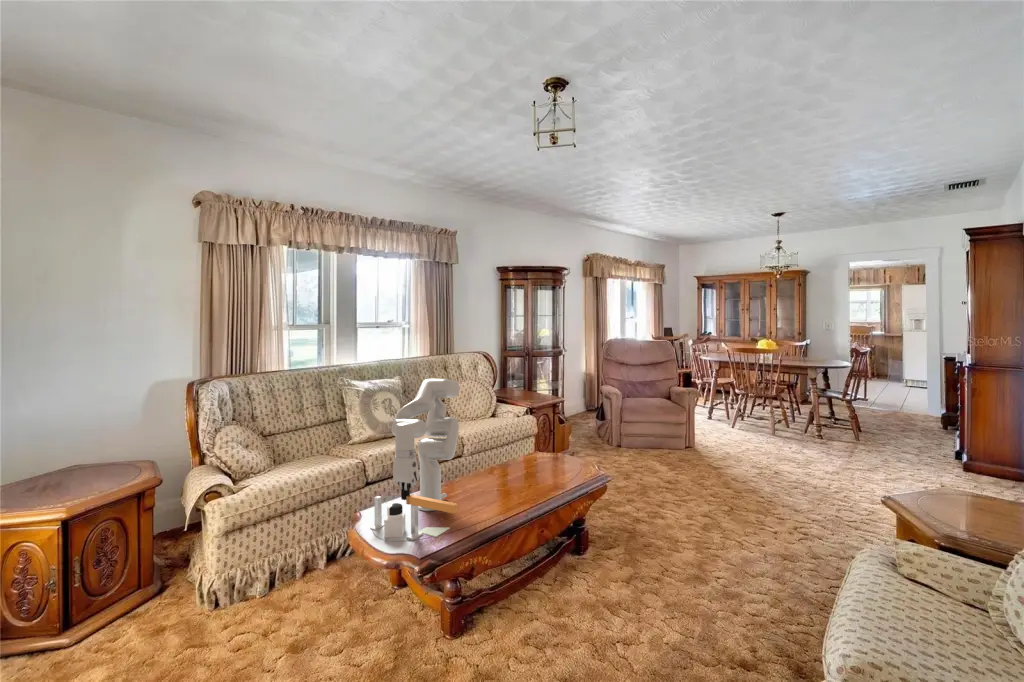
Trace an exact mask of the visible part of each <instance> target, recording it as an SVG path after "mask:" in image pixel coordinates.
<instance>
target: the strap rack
mask: <svg viewBox="0 0 1024 682" xmlns="http://www.w3.org/2000/svg"><path fill="white" fill-rule="evenodd" d="M373 500H374V507H373V508H374V525H373V526H371V527H369V529H370V530H373V531H378V530H379V529H381V528H384V522H382V518H383V517H382V513H383V512H382V509H383V508H382V507H383V506H382V496H380V495H378V496H374V499H373ZM418 531H419V509H418V506H415V505H410V535H407V536H406V540H407V541H412V542H413V541H415V540H417V539H419V538H420V537H422V536H423V535H424V534H423V533H421V532H418Z"/></svg>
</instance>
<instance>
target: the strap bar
mask: <svg viewBox="0 0 1024 682" xmlns="http://www.w3.org/2000/svg"><path fill="white" fill-rule="evenodd" d="M405 504H406V505H410V506H411V505H415V506H420V507H425V508H429V509H434V511H439V512H443V513H448V514H456V513H458V512H459V504H458V503H456V502H453V501H446V500H443V499H442V500H437V499H432V498H427V497H421V496H420V495H415V494H413V493H412V494H411V493H410V495H409V496H406V500H405Z"/></svg>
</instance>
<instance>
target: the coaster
mask: <svg viewBox="0 0 1024 682" xmlns="http://www.w3.org/2000/svg"><path fill="white" fill-rule="evenodd" d="M448 530H450V527H438V526H437V527H432V526H431V527H430V526H429V527H427V526H425V527H423V528H422V529H419V530H418V532H421V533H423V535H427V536H430V537H433V538H437V537H439V536H440V535H442V534H444V533H445V532H447V531H448Z"/></svg>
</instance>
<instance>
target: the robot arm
mask: <svg viewBox="0 0 1024 682" xmlns="http://www.w3.org/2000/svg"><path fill="white" fill-rule="evenodd" d="M460 389H461V388H460V383H459V382H458V381H457V380H455V379H448V378H427V379H425V380H424V379H423V381H422V382H421V384H420V386H419V388H418V390H417V393H416V395H415V397H414V399H413V400H412V401H410V402H408V403H407V404H405V405H404V406H403V407H401V408H400V409H399V410H398V411H397V413H396V415H395V416H394V419H393V421H392V423H391V424H392V425H391V433H392V435H393V436H395V439H394V440H395V445H394V446H395V451H394V452H395V453H394V454H395V456H394V460H393V469H392V470H393V471H392V476H393V477H392V478H393V480H394V483H395V484H396V485H398V486H399V489H400V491H401V492H400V493H401V495H400V496H401V497H400V499H401V500H403V501H406V496H409V495H411V493H410V492H411V489H412V487H415V486H417V481H419V484H420V485H419V493H420V495H419V496H421V497H427V498H432V499H437V500H442V501H443V499H445V498H446V497H447V495H448V494H447V493H446V492H443V493H442V472H441V471H442V470H441V469H442V468H441V465H440V464H439V460H442V461H443V460H446V461H447V460H448V461H449V460H452V459H453V458H455V454H456V449H457V444H458V438H459V430H460V428H459V427H460V425H459V421H458V419H457V418H456V417H453V416H446V414H447V407H446V404H445V403H444V402H443V401H442V400H441V398H442V399H445V398H446V399H455V398H457V397H458V396H459V394H460ZM426 413H427V417H426V420H425V421H426V422H425V421H424V420H423V419H420V418H419V419H416V418H414V417H416V416H420V415H423V414H426ZM425 434H426V435H427V437H428V438H422V439H421V440H420V441H419V442H418V443H417V452H416V451H415V439H417V438H421V437H423V436H425ZM417 454H418V458H417V456H416V455H417ZM417 459H418V460H419V465H418V460H417ZM418 511H424V512H432V511H435V510H434V509H429V508H425V507H420V506H418Z"/></svg>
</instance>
